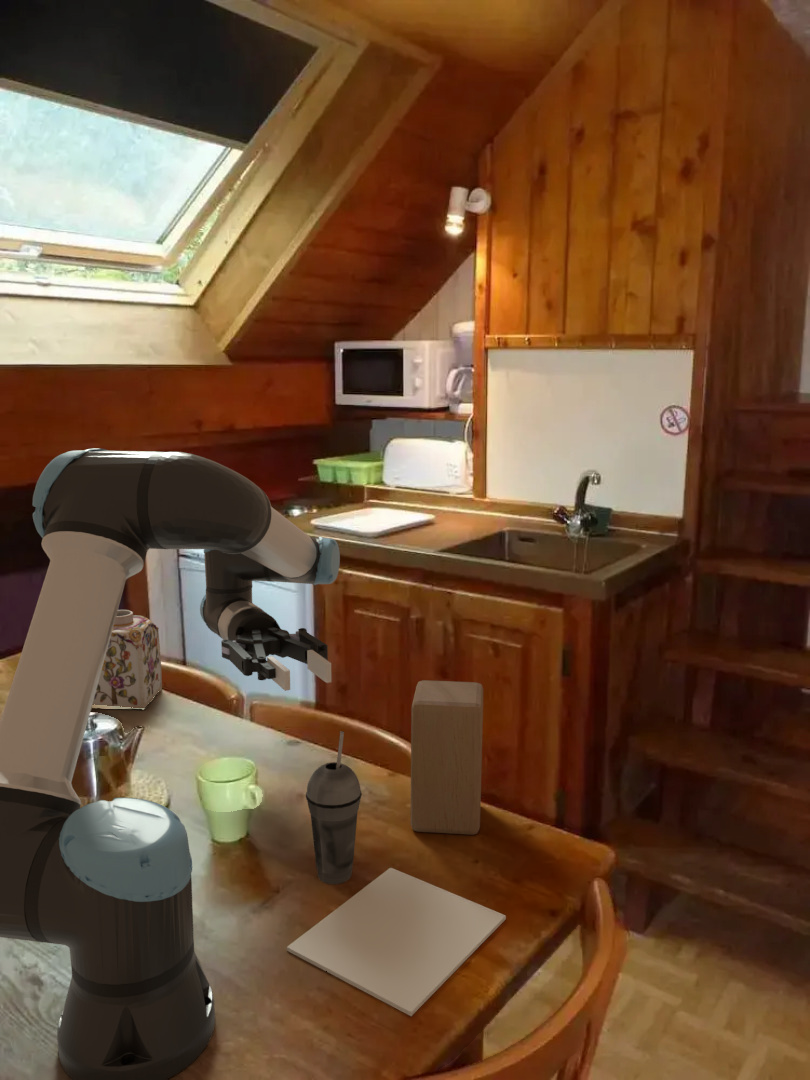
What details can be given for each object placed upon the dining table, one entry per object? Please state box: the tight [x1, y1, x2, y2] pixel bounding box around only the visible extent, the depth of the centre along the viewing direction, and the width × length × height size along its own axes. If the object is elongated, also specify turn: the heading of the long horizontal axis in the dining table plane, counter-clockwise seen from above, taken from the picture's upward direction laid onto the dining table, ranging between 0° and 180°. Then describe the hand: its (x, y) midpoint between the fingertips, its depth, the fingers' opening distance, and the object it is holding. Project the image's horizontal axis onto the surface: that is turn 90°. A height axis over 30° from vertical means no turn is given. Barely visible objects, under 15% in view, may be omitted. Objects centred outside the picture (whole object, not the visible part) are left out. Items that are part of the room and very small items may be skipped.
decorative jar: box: [92, 609, 163, 709], centre depth 173 cm, size 12×12×18 cm
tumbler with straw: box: [305, 730, 363, 885], centre depth 114 cm, size 7×7×20 cm
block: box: [410, 679, 484, 836], centre depth 129 cm, size 10×10×20 cm
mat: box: [286, 867, 507, 1017], centre depth 104 cm, size 20×18×1 cm
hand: (308, 676), depth 118 cm, fingers open, 5 cm apart
